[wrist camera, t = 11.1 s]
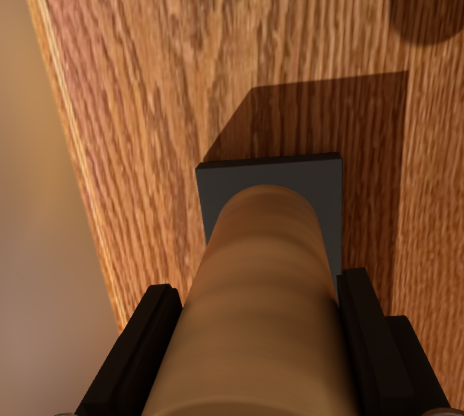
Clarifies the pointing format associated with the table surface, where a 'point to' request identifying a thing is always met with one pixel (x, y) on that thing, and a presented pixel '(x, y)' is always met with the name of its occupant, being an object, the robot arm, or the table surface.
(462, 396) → the table surface
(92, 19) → the table surface
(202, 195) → the mat
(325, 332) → the bottle
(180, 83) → the table surface
